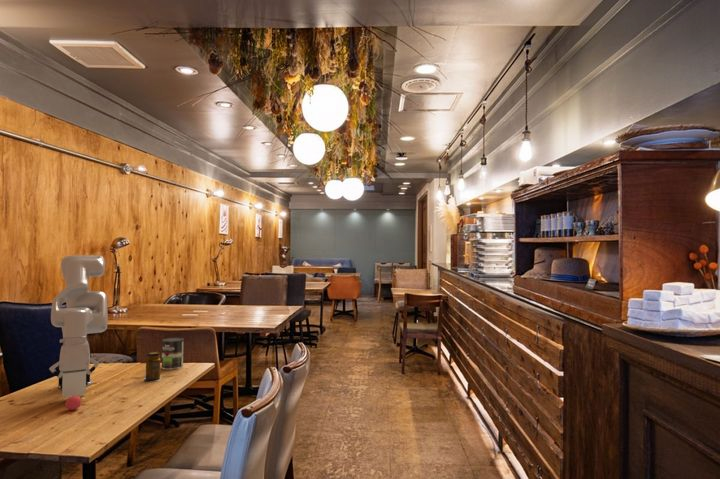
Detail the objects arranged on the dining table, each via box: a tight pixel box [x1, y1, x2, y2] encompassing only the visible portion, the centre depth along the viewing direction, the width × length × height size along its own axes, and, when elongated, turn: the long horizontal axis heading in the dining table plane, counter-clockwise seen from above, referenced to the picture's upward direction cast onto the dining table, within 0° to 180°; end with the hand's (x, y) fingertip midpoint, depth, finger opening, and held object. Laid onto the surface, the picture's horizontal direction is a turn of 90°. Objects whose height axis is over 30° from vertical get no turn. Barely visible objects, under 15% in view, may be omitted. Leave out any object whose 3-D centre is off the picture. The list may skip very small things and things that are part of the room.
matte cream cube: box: [61, 370, 87, 398], centre depth 176 cm, size 8×8×9 cm
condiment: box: [143, 351, 162, 383], centre depth 205 cm, size 7×8×12 cm
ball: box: [64, 395, 82, 411], centre depth 165 cm, size 5×5×5 cm
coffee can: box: [160, 337, 185, 371], centre depth 227 cm, size 10×10×14 cm
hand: (74, 385), depth 176 cm, fingers closed on matte cream cube, 7 cm apart
